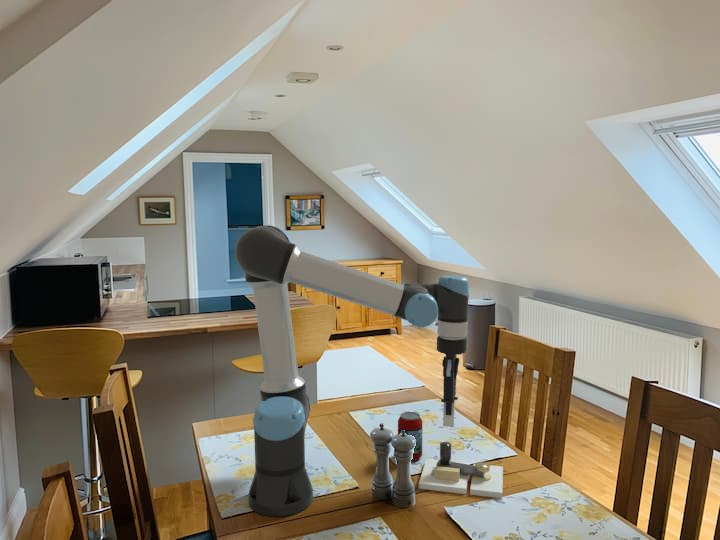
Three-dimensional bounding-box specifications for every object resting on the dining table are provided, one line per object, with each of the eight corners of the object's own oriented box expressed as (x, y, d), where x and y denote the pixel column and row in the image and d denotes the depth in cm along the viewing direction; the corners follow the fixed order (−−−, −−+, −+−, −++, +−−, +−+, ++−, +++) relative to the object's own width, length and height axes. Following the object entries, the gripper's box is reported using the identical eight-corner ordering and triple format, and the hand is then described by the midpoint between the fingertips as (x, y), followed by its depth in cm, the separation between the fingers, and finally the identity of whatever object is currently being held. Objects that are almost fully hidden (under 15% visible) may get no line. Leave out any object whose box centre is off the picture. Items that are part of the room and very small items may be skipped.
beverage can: (402, 463, 155) (402, 421, 154) (394, 453, 162) (394, 412, 160) (426, 460, 157) (426, 418, 156) (417, 450, 164) (417, 409, 162)
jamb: (502, 498, 137) (502, 491, 137) (470, 494, 139) (470, 487, 139) (502, 471, 151) (503, 465, 150) (473, 468, 152) (473, 462, 152)
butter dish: (466, 494, 139) (466, 479, 139) (418, 488, 142) (418, 473, 142) (469, 468, 153) (470, 454, 152) (426, 463, 155) (426, 450, 155)
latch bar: (490, 473, 146) (491, 448, 145) (488, 479, 142) (488, 454, 142) (439, 464, 151) (439, 440, 150) (435, 470, 148) (436, 445, 147)
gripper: (440, 330, 154) (437, 415, 157) (433, 341, 141) (430, 433, 144) (468, 332, 152) (465, 418, 155) (464, 343, 140) (461, 436, 142)
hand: (448, 425), depth 150 cm, fingers closed
